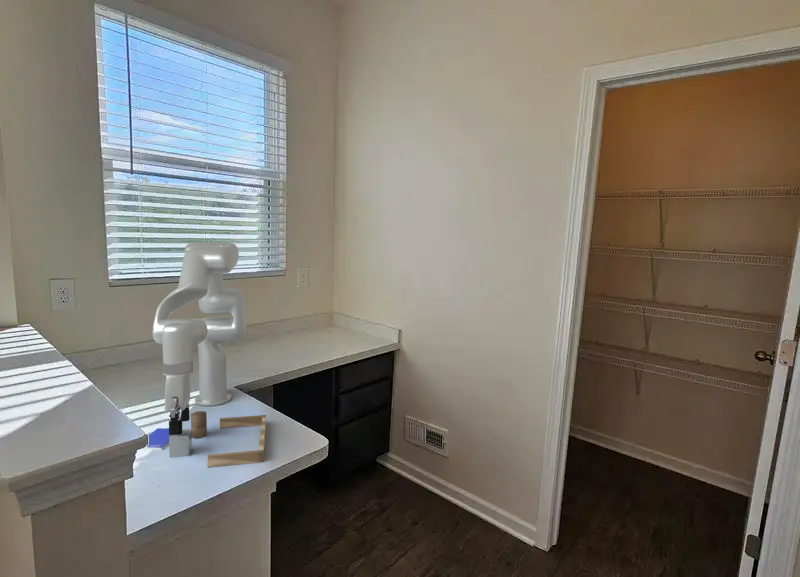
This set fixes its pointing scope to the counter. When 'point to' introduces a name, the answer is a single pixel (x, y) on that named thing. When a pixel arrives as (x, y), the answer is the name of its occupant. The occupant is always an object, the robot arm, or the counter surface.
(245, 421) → the corral
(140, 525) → the counter surface
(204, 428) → the cylinder
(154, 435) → the hard drive
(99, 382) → the counter surface
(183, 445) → the block
